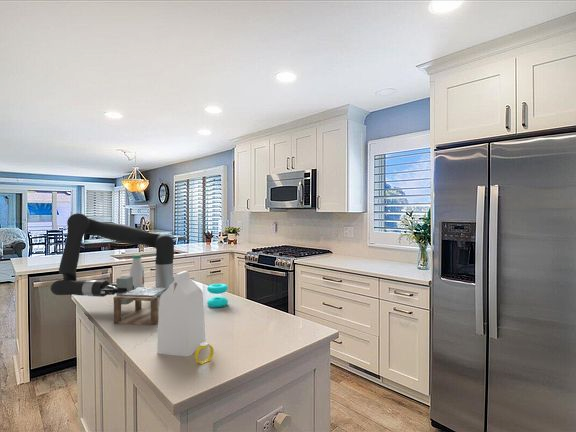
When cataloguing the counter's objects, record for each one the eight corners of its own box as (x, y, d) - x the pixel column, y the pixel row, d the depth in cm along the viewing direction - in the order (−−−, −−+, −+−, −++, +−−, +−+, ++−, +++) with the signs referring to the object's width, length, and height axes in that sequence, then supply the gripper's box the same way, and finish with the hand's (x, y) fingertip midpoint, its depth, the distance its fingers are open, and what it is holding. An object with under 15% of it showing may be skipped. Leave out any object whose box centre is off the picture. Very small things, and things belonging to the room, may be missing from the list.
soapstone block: (123, 301, 156) (122, 276, 155) (133, 301, 155) (132, 276, 155) (116, 304, 151) (116, 278, 150) (126, 304, 150) (126, 278, 150)
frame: (113, 323, 136) (113, 297, 135) (137, 310, 154) (137, 286, 153) (155, 324, 134) (155, 298, 134) (174, 311, 152) (174, 287, 152)
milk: (188, 356, 105) (188, 276, 105) (157, 353, 108) (156, 275, 107) (205, 341, 117) (205, 269, 117) (176, 339, 119) (176, 268, 119)
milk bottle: (140, 289, 192) (140, 256, 192) (127, 289, 192) (127, 256, 192) (146, 286, 200) (146, 254, 199) (133, 286, 200) (133, 254, 199)
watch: (198, 367, 99) (197, 348, 98) (193, 365, 100) (192, 346, 100) (215, 359, 103) (214, 341, 102) (210, 357, 105) (209, 339, 104)
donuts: (218, 282, 169) (232, 284, 163) (218, 301, 169) (232, 304, 163) (203, 285, 161) (216, 288, 155) (203, 305, 161) (216, 309, 155)
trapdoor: (114, 301, 138) (114, 294, 138) (132, 293, 151) (132, 287, 151) (152, 303, 136) (152, 295, 136) (167, 294, 150) (167, 287, 150)
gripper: (85, 284, 147) (121, 284, 145) (105, 277, 161) (138, 277, 160) (85, 300, 147) (121, 301, 146) (105, 292, 161) (138, 292, 160)
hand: (130, 289), depth 153 cm, fingers closed on soapstone block, 5 cm apart
